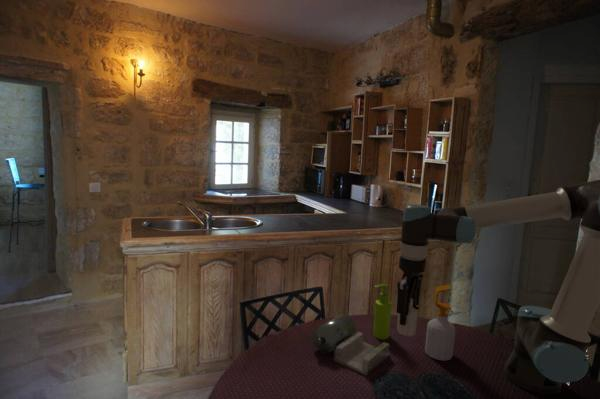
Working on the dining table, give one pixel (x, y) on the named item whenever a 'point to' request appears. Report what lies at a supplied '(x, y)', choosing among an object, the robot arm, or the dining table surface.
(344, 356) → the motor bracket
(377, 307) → the soap dispenser
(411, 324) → the eye dropper bottle
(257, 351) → the dining table surface
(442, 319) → the soap bottle
